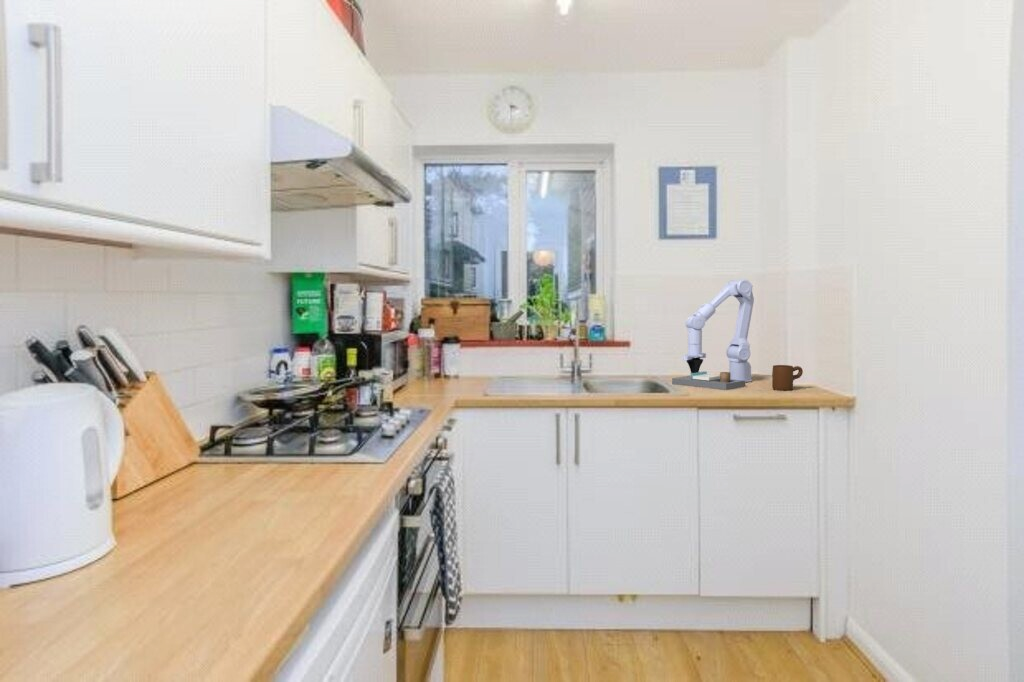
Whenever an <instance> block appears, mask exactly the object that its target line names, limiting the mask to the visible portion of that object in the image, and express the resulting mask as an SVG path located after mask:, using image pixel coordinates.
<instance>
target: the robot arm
mask: <svg viewBox="0 0 1024 682" xmlns="http://www.w3.org/2000/svg"><path fill="white" fill-rule="evenodd" d="M730 297H735V299H736V300H737V301H738V302H739V307H738V310H737V311H738V312H737V317H736V324H735V329H734V335H733V338H732V339H731V340H730V342H729V345H728V347H727V349H726V351H725V353H726V357H727V358H728V361H729V365H728V366H729V368H728V372H730V373H731V374H730V379H735V380H745V383H748V382H753V381H754V380H753V379H752V365H751V363H750V362H749V361H748V360H749V358H750V356H751V350H750V347H751V344H750V343H749V341H748V336H749V330H750V324H751V320H752V313H753V308H754V302H755V297H754V294H753V285H752V283H751V282H750V281H749V280H747V279H731V280H729V281H728V282H727V283H726V284H725V285H723V287H722V289H721V290H720V291H718V293H717V294H716V295H715V296H714V298H712V300H710V301H709V302H705V303H702V304H701V305H700V307H699V308H698V309H697V310H696V312H693V315H690V316H688V318H687V319H686V321H685V323H684V324H685V327H686V328H687V354H684V355H683V357H682V358H683V361H686V363H687V365H688V368H689V370H690V373H697V372H700V368H701V366H702V363H703V362H704V359H706V358H707V354H706V352H705V353H704V352H703V329H704V327H705V326H706V322H707V321H708V320H709V319H710V318H712V316H714V315H715V313H716V309H717V308H718V307H719V306H720V305H721V304H722V303H723V302H724V301H726V300H727V299H728V298H730Z"/></svg>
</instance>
